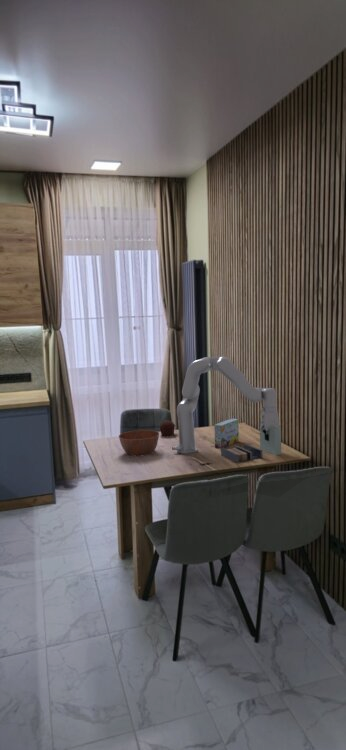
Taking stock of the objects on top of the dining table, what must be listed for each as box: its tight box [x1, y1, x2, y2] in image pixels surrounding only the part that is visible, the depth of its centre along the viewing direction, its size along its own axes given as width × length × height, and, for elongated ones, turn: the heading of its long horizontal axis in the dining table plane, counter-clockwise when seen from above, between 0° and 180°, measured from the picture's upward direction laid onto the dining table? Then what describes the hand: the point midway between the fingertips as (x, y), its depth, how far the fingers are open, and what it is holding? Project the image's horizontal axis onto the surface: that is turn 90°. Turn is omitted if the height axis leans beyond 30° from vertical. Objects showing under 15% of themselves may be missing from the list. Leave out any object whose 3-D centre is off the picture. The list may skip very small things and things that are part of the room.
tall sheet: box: [259, 424, 282, 456], centre depth 301 cm, size 4×16×15 cm, turn 23°
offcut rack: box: [220, 443, 264, 464], centre depth 294 cm, size 17×18×6 cm
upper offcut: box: [226, 447, 247, 458], centre depth 293 cm, size 6×14×2 cm, turn 23°
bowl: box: [118, 429, 160, 457], centre depth 317 cm, size 25×25×11 cm
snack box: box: [213, 418, 240, 449], centre depth 325 cm, size 21×6×15 cm, turn 143°
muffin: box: [158, 420, 176, 437], centre depth 359 cm, size 12×11×10 cm
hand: (270, 439), depth 301 cm, fingers closed on tall sheet, 4 cm apart
